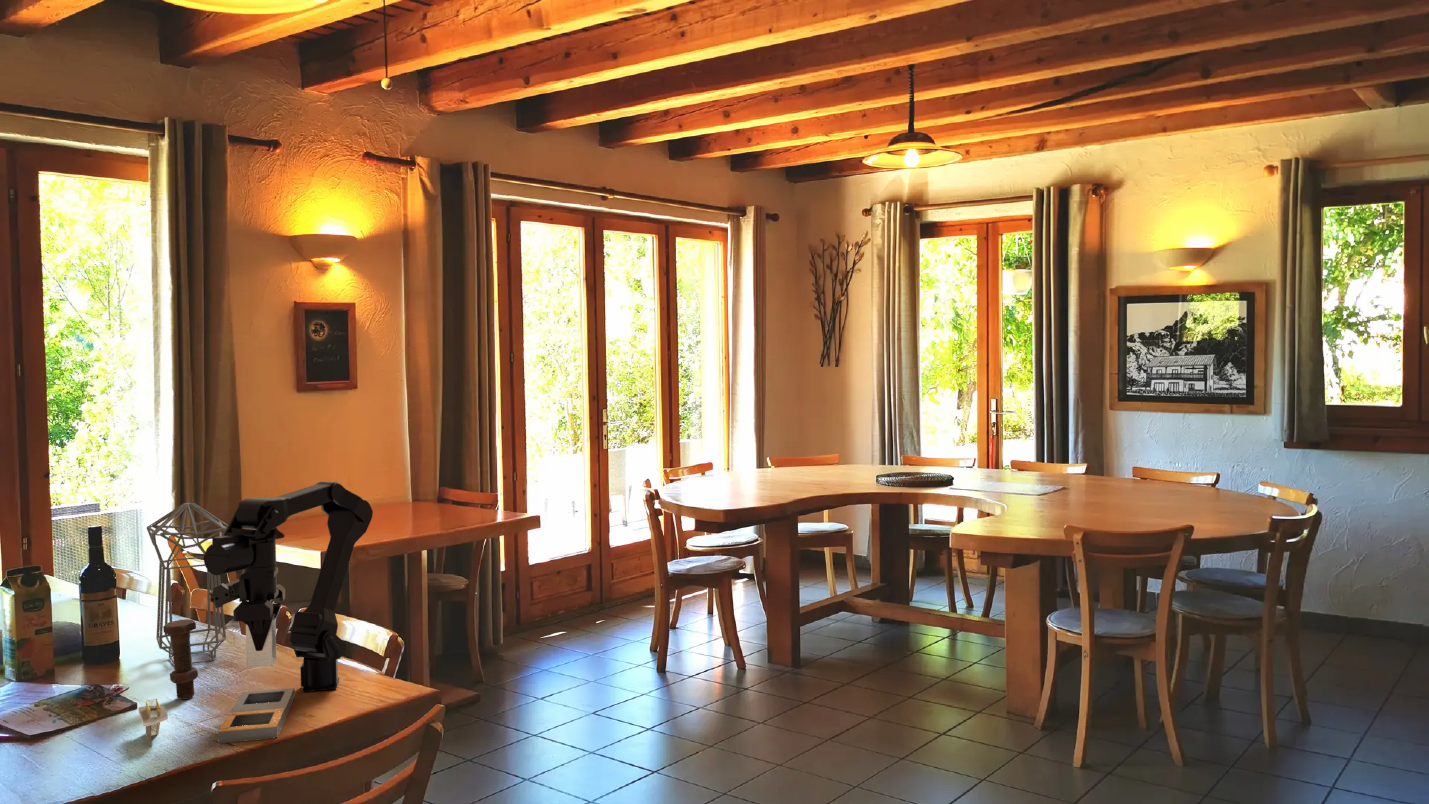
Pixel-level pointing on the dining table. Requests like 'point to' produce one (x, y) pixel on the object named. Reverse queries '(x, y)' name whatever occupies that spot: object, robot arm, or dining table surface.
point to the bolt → (182, 657)
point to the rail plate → (256, 715)
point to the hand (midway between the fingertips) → (261, 647)
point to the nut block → (268, 652)
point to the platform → (153, 721)
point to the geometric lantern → (158, 528)
